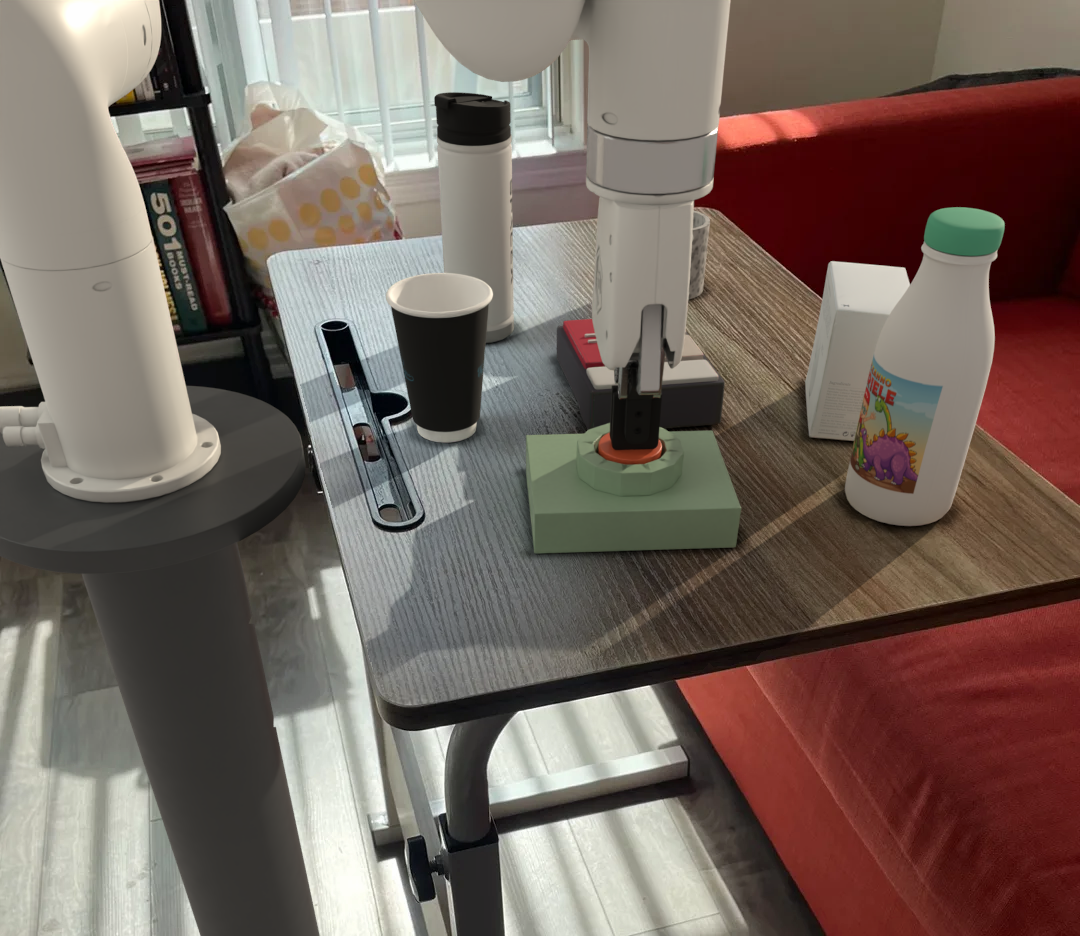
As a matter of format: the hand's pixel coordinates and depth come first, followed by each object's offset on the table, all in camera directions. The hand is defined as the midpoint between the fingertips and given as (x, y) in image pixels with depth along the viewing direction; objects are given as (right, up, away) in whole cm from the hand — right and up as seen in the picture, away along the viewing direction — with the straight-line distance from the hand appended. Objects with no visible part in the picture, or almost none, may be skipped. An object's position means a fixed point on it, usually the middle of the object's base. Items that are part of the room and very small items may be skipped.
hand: (633, 443), depth 77 cm
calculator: (+2, +9, +18) cm, 20 cm away
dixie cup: (-14, +4, +13) cm, 19 cm away
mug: (+6, +23, +34) cm, 41 cm away
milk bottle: (+20, -3, +5) cm, 21 cm away
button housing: (0, -4, +4) cm, 5 cm away
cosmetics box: (+19, +6, +15) cm, 25 cm away
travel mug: (-12, +17, +27) cm, 34 cm away
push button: (0, -1, +1) cm, 2 cm away
